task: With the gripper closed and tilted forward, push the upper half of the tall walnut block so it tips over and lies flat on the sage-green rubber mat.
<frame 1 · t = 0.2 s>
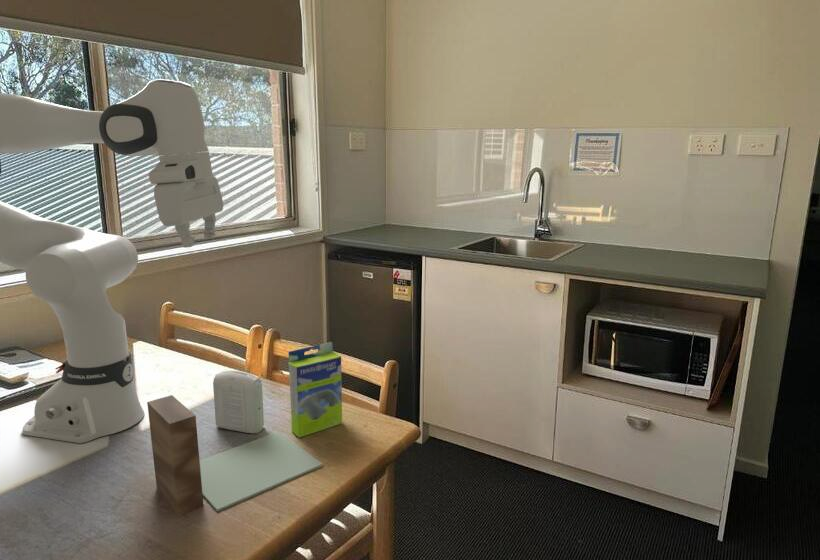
hand: (200, 242, 109), 39 cm above the table, tool pointing down, fingers open, 8 cm apart
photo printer: (240, 428, 117), on the table
mat: (251, 467, 103), on the table
walnut block: (179, 496, 94), on the table
box: (317, 428, 118), on the table
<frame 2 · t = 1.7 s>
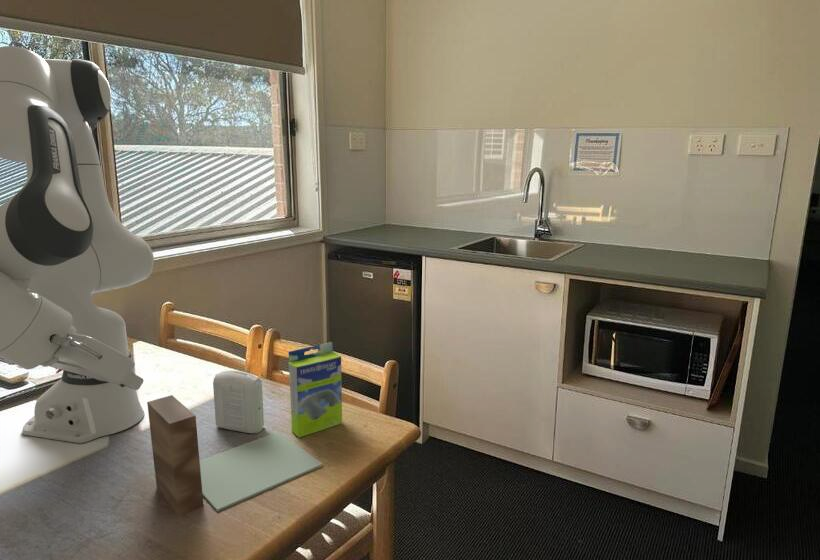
hand: (121, 380, 84), 23 cm above the table, tool tilted 45°, fingers open, 8 cm apart
nothing on the table moved.
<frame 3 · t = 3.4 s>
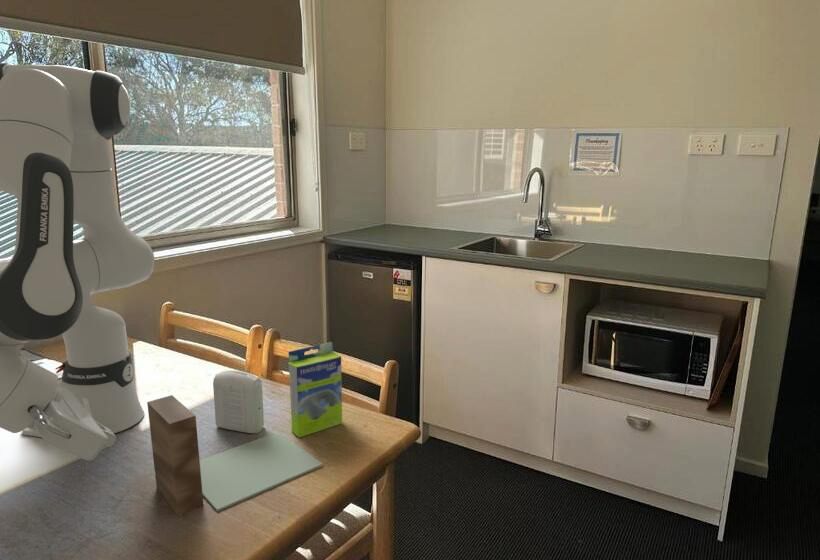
hand: (111, 439, 85), 14 cm above the table, tool tilted 45°, fingers closed
nothing on the table moved.
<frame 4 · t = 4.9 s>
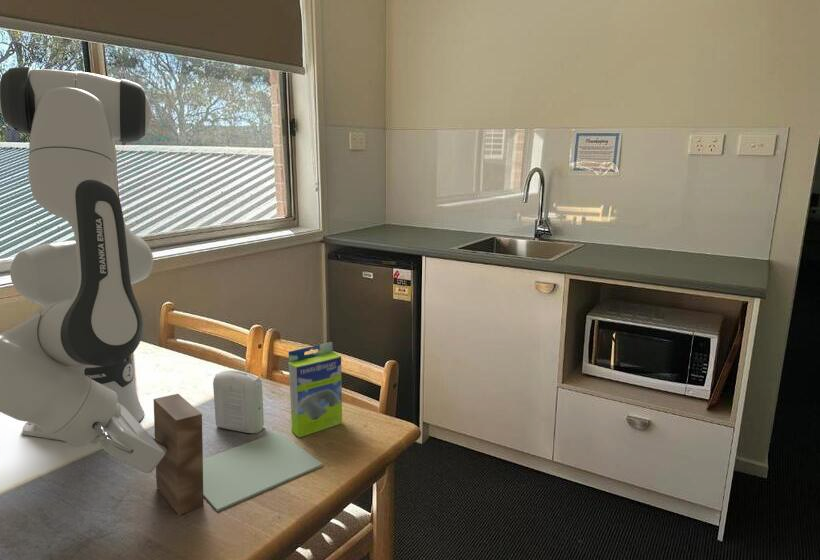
hand: (161, 450, 91), 9 cm above the table, tool tilted 45°, fingers closed
walnut block: (179, 496, 94), on the table, touching gripper
everything else where it was.
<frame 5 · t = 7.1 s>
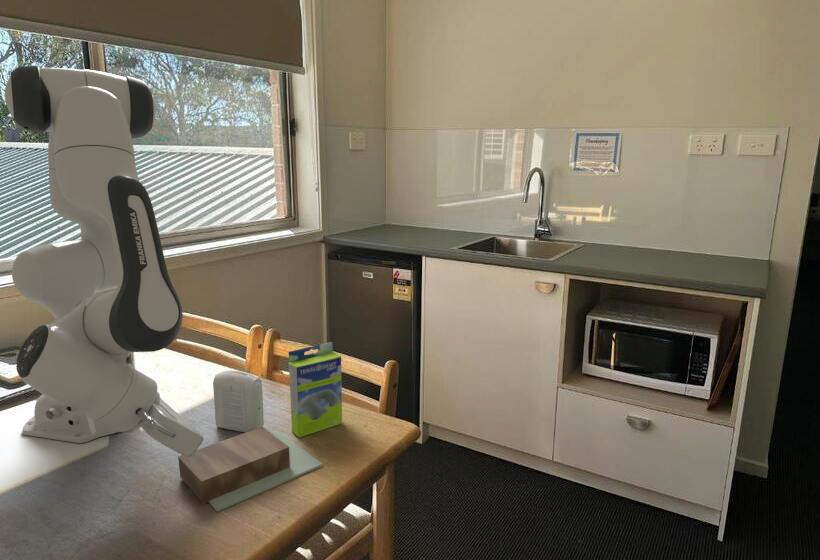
hand: (196, 437, 94), 10 cm above the table, tool tilted 45°, fingers closed
walnut block: (190, 479, 95), point 2 cm above the table, tilted 90°, touching mat
everything else where it was.
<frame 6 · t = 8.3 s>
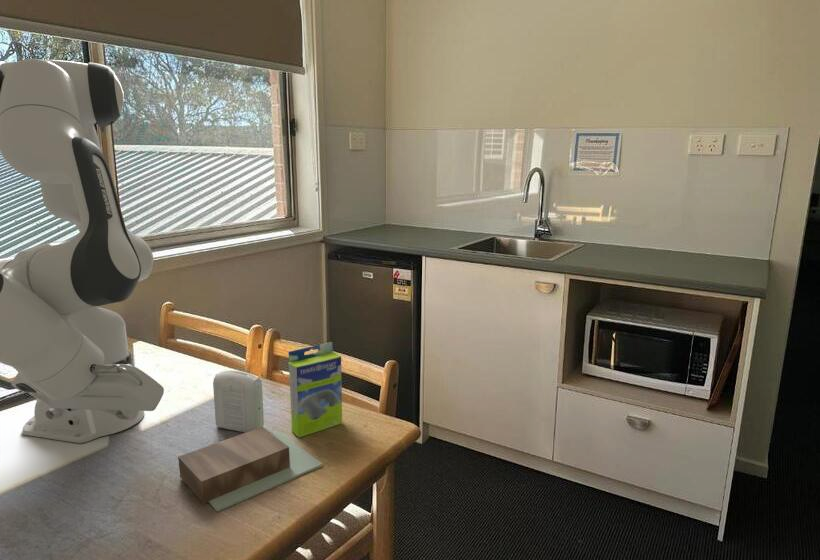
hand: (129, 415, 88), 16 cm above the table, tool tilted 35°, fingers closed
nothing on the table moved.
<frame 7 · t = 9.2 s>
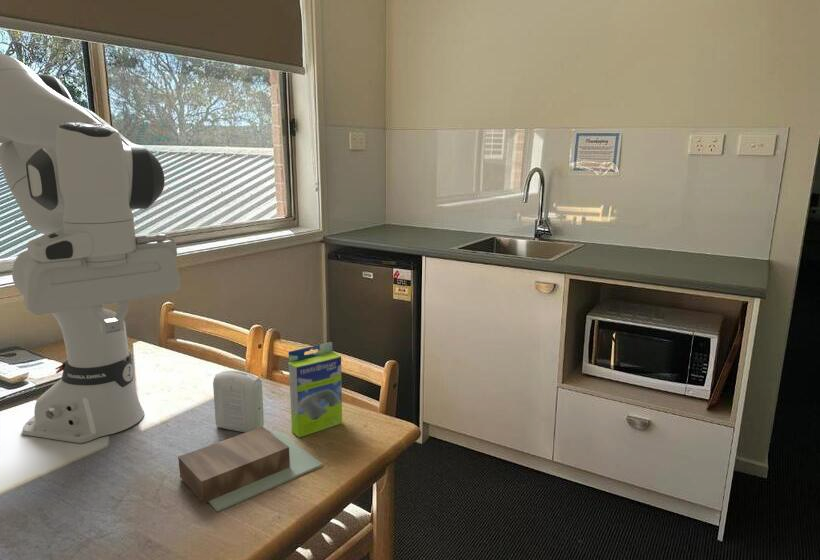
hand: (112, 331, 84), 30 cm above the table, tool pointing down, fingers closed
nothing on the table moved.
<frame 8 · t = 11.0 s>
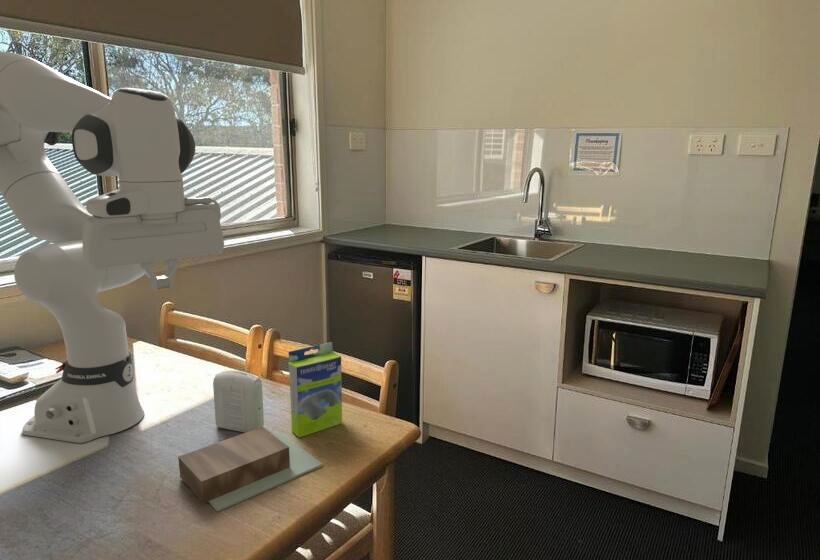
hand: (162, 288, 89), 35 cm above the table, tool pointing down, fingers closed
nothing on the table moved.
at the end: walnut block tilted 90°; walnut block touching mat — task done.
